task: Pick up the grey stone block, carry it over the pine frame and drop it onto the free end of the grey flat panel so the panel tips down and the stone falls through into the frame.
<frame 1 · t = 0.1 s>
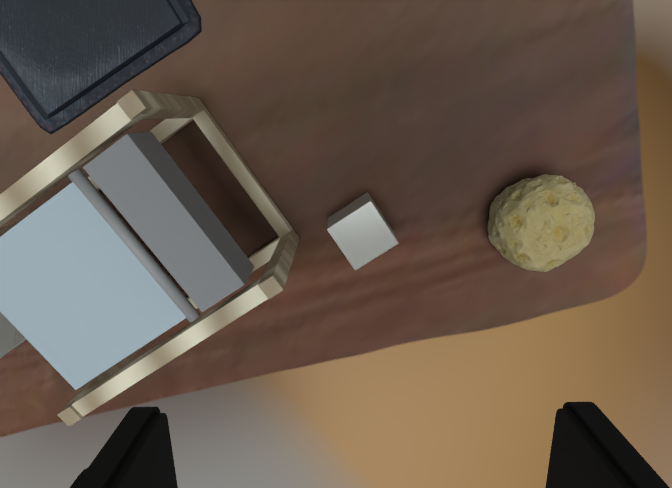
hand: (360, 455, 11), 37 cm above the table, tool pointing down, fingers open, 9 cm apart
stone: (360, 223, 47), on the table
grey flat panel: (106, 270, 34), point 14 cm above the table, hinge at 0.0°
wallet: (82, 14, 42), on the table
frame: (193, 211, 47), on the table
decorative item: (524, 215, 47), on the table
supplement box: (7, 297, 50), on the table
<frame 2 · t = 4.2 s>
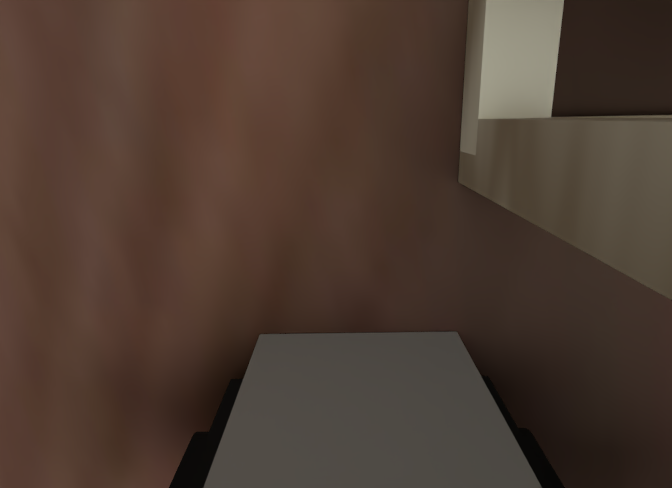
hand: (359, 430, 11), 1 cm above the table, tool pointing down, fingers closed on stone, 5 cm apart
stone: (358, 416, 12), on the table, touching gripper
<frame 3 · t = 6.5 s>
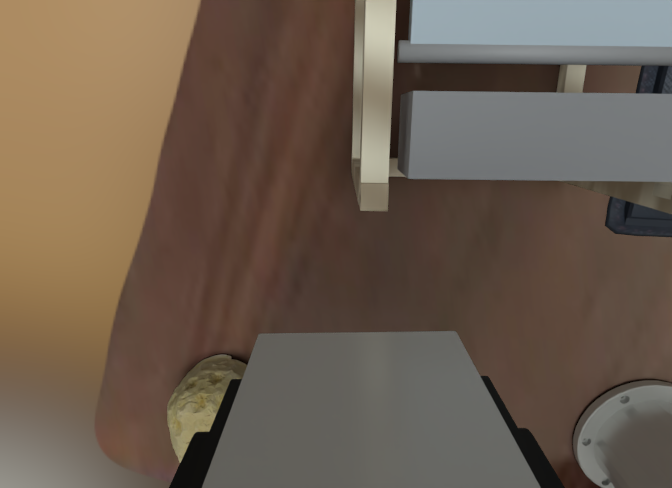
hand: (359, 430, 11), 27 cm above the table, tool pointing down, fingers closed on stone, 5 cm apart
stone: (357, 416, 12), point 27 cm above the table, touching gripper
frame: (465, 76, 34), on the table
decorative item: (230, 392, 43), on the table
when the fingers open (17 cm above the table, at t = 9.1 s): stone drops 14 cm and tips over, point 2 cm above the table.
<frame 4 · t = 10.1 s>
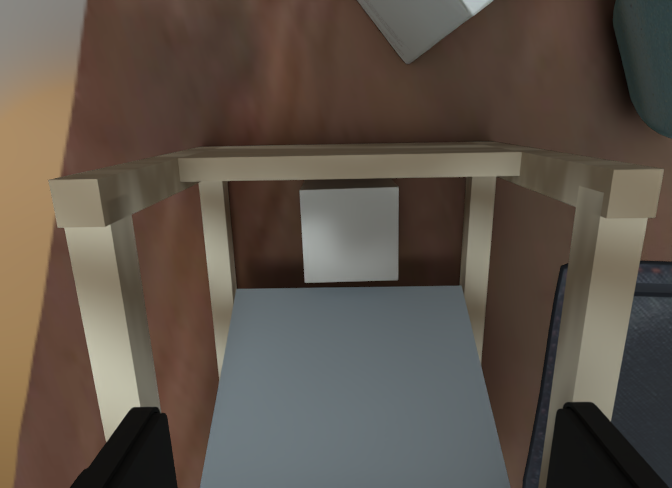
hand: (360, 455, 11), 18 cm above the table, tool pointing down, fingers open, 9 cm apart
flower pot: (663, 41, 25), on the table
stone: (350, 266, 26), point 2 cm above the table, tilted 90°
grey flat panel: (353, 457, 20), point 11 cm above the table, hinge at -58.3°
wallet: (635, 389, 32), on the table
frame: (348, 361, 30), on the table
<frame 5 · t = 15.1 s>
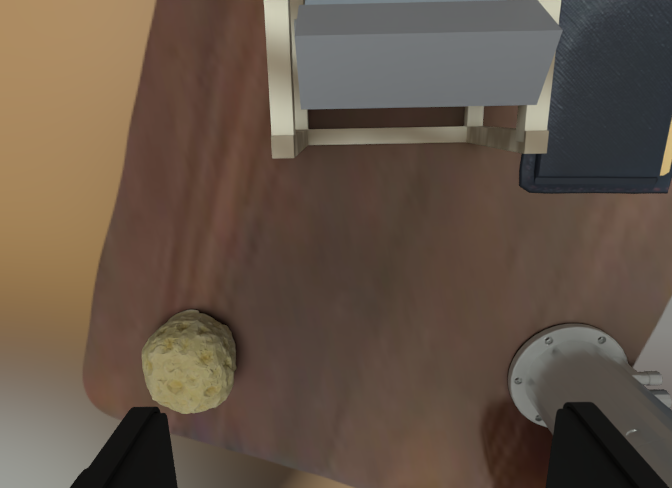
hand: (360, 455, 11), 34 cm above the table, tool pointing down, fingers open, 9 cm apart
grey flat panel: (404, 6, 29), point 11 cm above the table, hinge at -58.3°
wallet: (605, 87, 41), on the table
frame: (386, 55, 40), on the table
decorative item: (200, 345, 48), on the table
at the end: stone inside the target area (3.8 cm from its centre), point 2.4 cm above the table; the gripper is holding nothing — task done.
